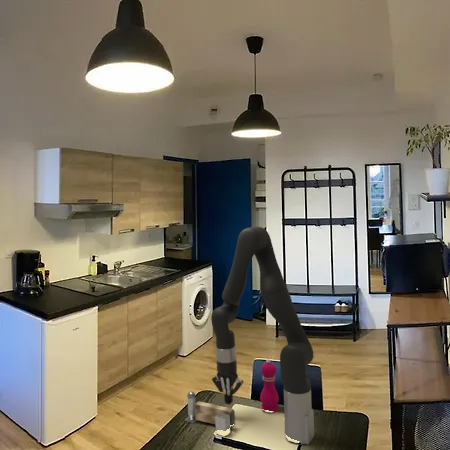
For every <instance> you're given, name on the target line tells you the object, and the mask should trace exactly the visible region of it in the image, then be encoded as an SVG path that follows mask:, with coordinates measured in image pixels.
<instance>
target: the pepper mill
mask: <svg viewBox="0 0 450 450" xmlns="http://www.w3.org/2000/svg"><path fill="white" fill-rule="evenodd" d="M260 372H261V374H262V376H261V377H262V380H263V388H262V390H261V392H260V397H259V400H260V402H261V410H262V409H264V410H269V411H276V412H278V409H279V407H278V405H279V404H278V403H279V401H280V397H279V394H278V391H277V389H276V387H275V380H276V374H277V367H276V365H275V364H274V363H273V362H271V359H269V358H267V359H266V360H265V362H264V363H263V364H261V367H260Z"/></svg>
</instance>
